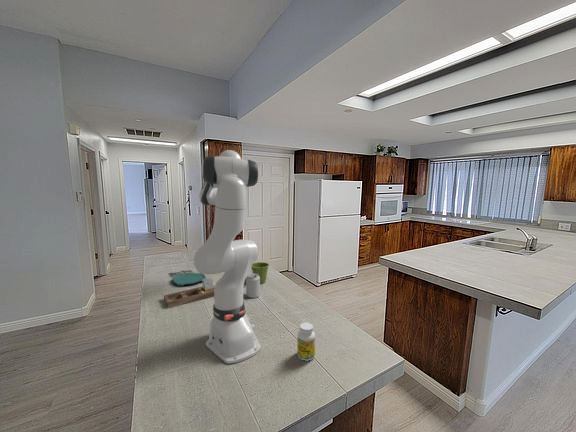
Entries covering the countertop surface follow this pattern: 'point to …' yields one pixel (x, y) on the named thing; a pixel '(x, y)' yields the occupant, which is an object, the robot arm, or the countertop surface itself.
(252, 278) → the can
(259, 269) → the plant pot
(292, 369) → the countertop surface
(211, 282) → the steel block
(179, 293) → the walnut rail
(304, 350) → the supplement bottle
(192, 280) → the cutlery set
